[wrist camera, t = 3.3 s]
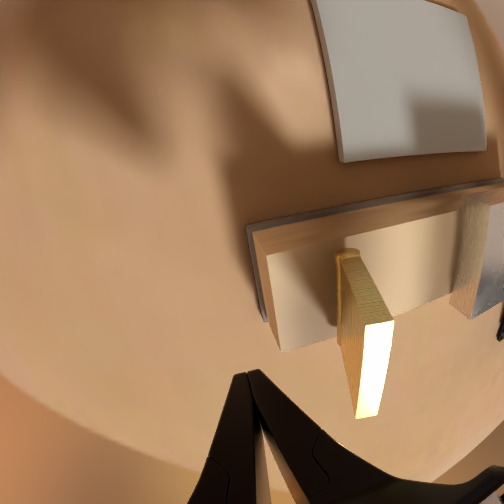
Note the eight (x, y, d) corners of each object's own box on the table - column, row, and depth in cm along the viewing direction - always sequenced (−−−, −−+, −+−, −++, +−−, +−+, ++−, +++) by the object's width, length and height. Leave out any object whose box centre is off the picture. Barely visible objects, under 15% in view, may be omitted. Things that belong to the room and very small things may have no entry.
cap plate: (520, 184, 13) (542, 191, 11) (508, 272, 16) (526, 284, 14) (461, 195, 12) (490, 205, 10) (449, 303, 15) (470, 320, 13)
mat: (460, 16, 12) (466, 15, 11) (480, 149, 16) (486, 150, 15) (305, -17, 10) (310, -22, 10) (339, 161, 14) (344, 162, 14)
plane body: (501, 177, 17) (534, 188, 14) (495, 241, 19) (525, 256, 16) (245, 225, 15) (260, 252, 11) (261, 316, 17) (277, 356, 14)
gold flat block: (357, 246, 12) (397, 320, 7) (356, 331, 13) (379, 414, 9) (332, 249, 12) (362, 325, 7) (335, 334, 13) (352, 419, 9)
